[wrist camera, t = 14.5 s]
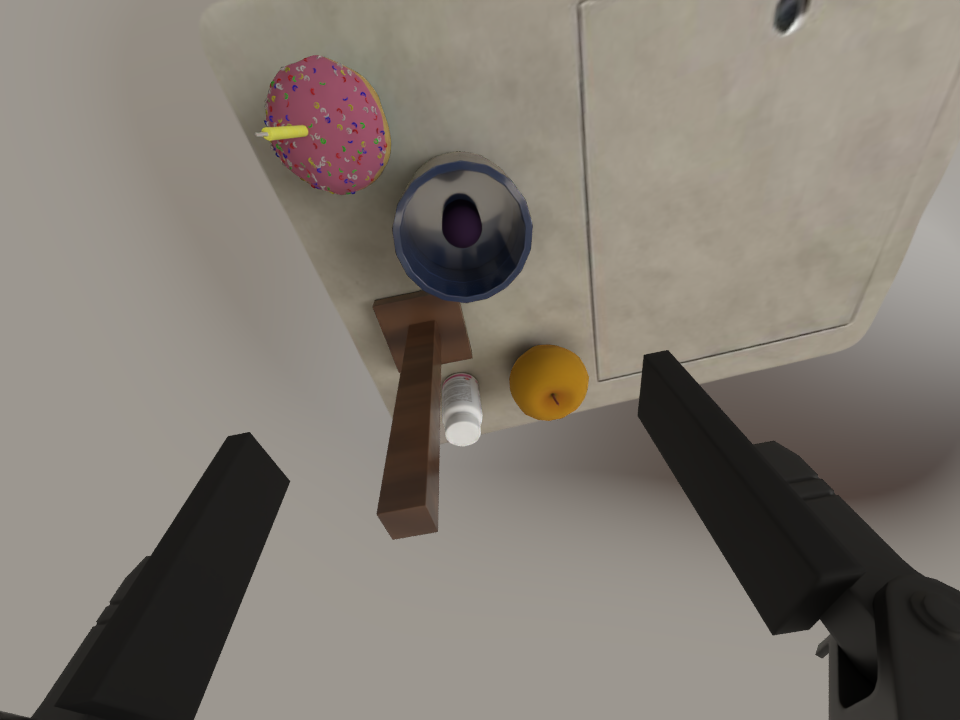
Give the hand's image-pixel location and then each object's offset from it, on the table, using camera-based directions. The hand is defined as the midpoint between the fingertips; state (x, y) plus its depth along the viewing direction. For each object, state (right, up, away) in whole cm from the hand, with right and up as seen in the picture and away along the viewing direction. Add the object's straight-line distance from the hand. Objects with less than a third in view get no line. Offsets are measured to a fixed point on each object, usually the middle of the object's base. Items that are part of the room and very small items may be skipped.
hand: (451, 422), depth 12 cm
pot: (-1, +16, +23) cm, 28 cm away
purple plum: (-1, +16, +22) cm, 27 cm away
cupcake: (-10, +22, +18) cm, 30 cm away
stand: (-5, +6, +29) cm, 30 cm away
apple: (+8, +2, +33) cm, 34 cm away
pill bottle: (-2, -1, +35) cm, 35 cm away
